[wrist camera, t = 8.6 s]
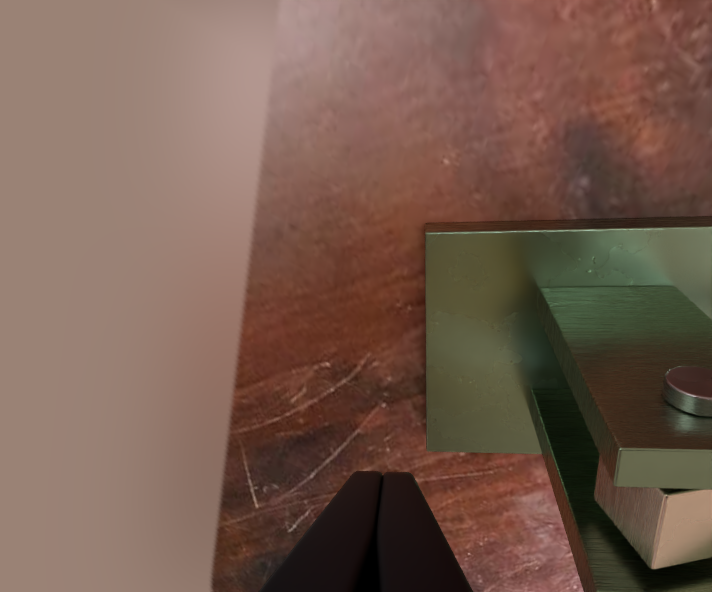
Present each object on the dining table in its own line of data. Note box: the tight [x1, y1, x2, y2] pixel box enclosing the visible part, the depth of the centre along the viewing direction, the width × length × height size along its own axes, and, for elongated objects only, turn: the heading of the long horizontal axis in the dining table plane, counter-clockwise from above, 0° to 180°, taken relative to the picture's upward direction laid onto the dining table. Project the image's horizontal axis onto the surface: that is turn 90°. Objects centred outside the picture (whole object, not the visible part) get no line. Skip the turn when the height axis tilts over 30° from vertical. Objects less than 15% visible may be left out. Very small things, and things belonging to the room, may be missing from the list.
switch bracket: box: [425, 216, 712, 592], centre depth 17 cm, size 12×9×10 cm
